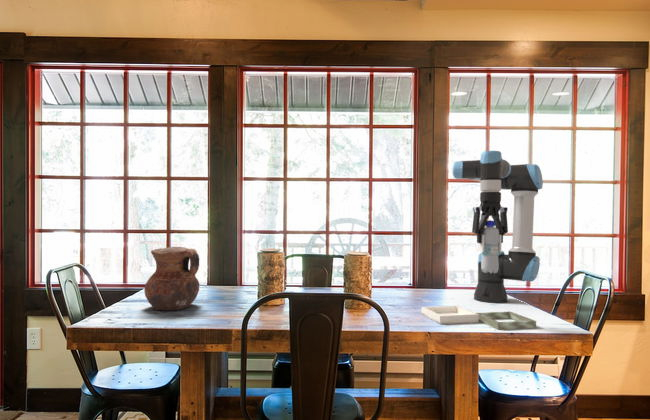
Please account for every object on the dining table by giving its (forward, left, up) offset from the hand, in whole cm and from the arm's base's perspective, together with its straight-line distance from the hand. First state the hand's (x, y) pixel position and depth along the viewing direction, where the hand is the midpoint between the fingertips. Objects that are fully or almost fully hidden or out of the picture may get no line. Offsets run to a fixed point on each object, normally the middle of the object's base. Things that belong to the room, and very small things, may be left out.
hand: (489, 251), depth 174 cm
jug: (+120, -46, -27) cm, 132 cm away
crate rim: (-5, +3, -27) cm, 27 cm away
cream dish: (+12, -8, -27) cm, 31 cm away
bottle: (0, 0, -8) cm, 8 cm away
